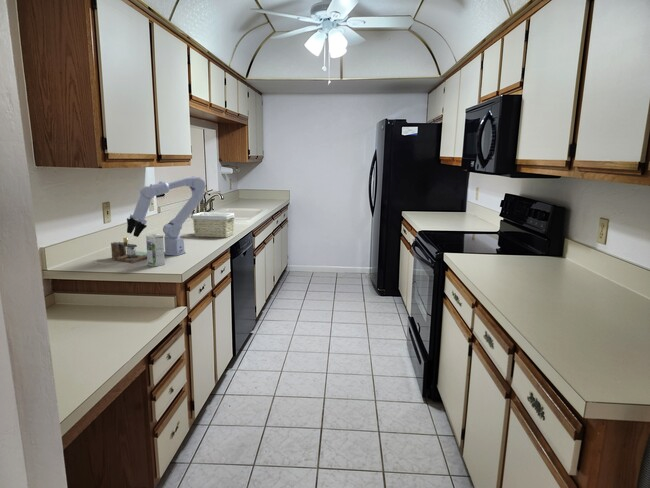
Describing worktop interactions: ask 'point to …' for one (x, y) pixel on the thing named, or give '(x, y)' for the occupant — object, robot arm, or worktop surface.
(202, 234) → the storage basket
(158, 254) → the syrup box
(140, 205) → the robot arm
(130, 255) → the steel peg
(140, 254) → the sage rubber pad
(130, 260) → the walnut socket block
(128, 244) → the dark grey long bar
